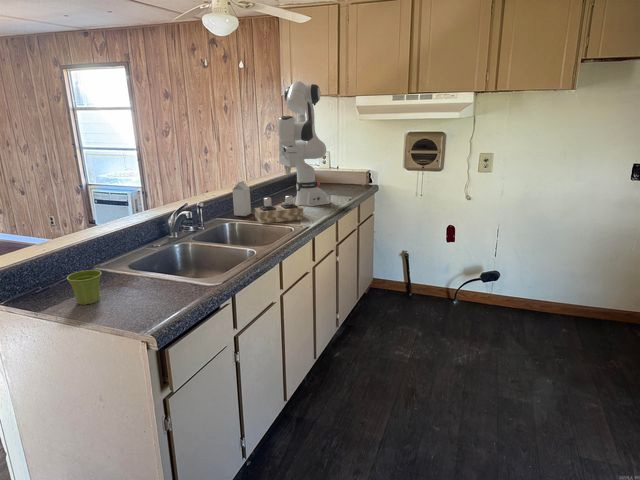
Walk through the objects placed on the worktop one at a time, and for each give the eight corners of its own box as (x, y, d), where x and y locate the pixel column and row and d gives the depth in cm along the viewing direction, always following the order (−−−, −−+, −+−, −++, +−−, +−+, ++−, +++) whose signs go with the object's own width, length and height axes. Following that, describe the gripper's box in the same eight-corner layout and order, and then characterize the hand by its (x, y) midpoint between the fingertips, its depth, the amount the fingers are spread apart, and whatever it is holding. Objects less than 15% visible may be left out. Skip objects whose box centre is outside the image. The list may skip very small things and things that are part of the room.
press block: (296, 214, 249) (296, 202, 247) (303, 219, 238) (303, 206, 236) (255, 218, 240) (254, 206, 238) (260, 223, 229) (259, 210, 227)
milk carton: (251, 213, 252) (249, 180, 247) (245, 216, 246) (243, 182, 241) (240, 213, 255) (238, 180, 249) (234, 215, 248) (231, 182, 243)
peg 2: (291, 207, 242) (291, 195, 240) (293, 208, 239) (293, 196, 237) (284, 208, 241) (284, 196, 239) (286, 209, 237) (286, 197, 235)
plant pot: (88, 293, 142) (83, 268, 139) (112, 296, 139) (108, 271, 137) (64, 305, 133) (59, 278, 131) (89, 309, 131) (84, 281, 128)
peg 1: (270, 209, 238) (270, 197, 236) (272, 210, 234) (272, 198, 232) (263, 210, 236) (262, 197, 235) (265, 211, 233) (264, 199, 231)
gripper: (275, 146, 239) (276, 172, 243) (287, 149, 220) (288, 176, 224) (286, 146, 241) (287, 171, 245) (299, 148, 223) (299, 176, 227)
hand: (288, 174), depth 234 cm, fingers closed
